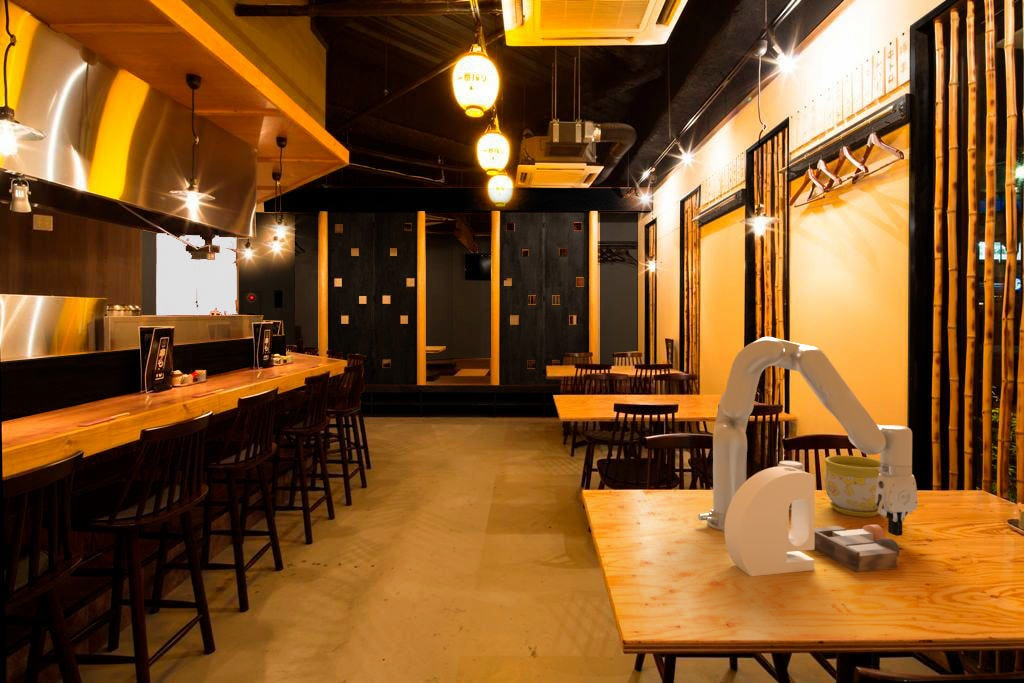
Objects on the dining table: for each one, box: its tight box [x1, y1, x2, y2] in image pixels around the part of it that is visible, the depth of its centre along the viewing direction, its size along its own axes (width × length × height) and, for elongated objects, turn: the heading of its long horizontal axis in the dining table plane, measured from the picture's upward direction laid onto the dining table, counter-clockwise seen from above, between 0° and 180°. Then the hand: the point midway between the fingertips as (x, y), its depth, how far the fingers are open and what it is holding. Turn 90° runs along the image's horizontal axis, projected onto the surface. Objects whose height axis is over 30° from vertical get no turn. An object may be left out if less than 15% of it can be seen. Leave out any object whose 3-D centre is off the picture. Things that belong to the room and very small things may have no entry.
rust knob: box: [832, 524, 886, 543], centre depth 164 cm, size 13×5×5 cm, turn 101°
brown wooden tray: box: [814, 525, 898, 573], centre depth 157 cm, size 12×20×5 cm, turn 11°
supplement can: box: [776, 460, 805, 511], centre depth 198 cm, size 8×8×15 cm
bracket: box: [723, 466, 816, 577], centre depth 149 cm, size 7×21×25 cm, turn 101°
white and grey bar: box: [848, 538, 900, 558], centre depth 153 cm, size 13×5×5 cm, turn 101°
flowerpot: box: [824, 455, 880, 518], centre depth 193 cm, size 18×18×16 cm
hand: (895, 534), depth 166 cm, fingers closed
